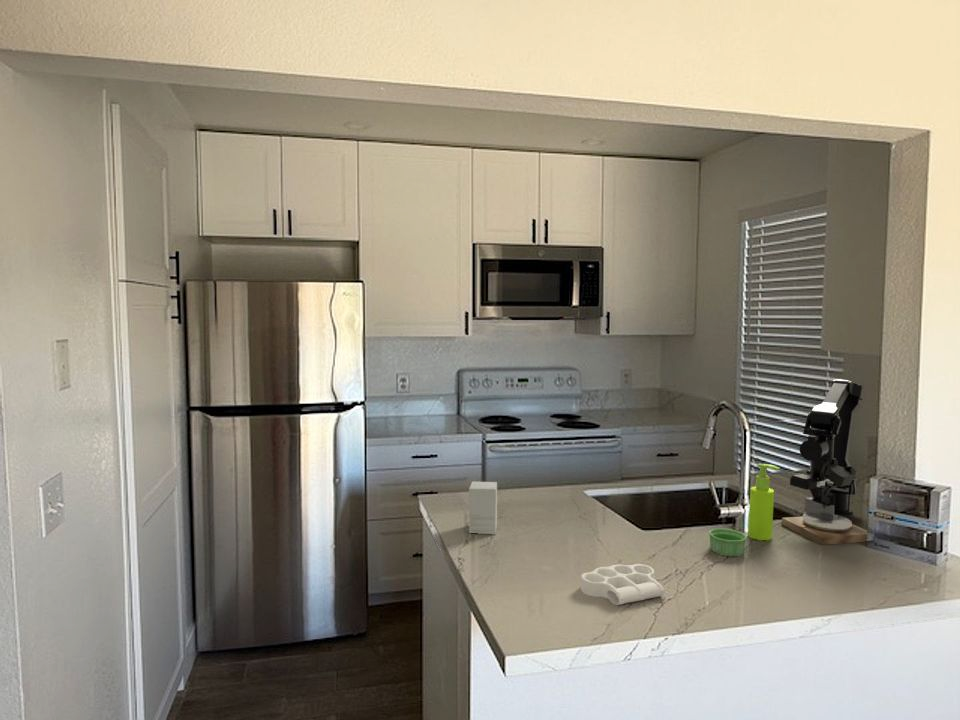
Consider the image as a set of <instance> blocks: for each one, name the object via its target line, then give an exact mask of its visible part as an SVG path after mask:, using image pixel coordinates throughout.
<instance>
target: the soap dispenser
mask: <svg viewBox="0 0 960 720" xmlns="http://www.w3.org/2000/svg"><path fill="white" fill-rule="evenodd" d="M757 468H759V474H756V477H755V486H751V487H750V489H749V490H750V495H749V511H748V512H749V514H748V515H749V516H748V528H747V529H748V532H747V533H748V534H747V535H748V538H750V539H753V540H756V539H757V541H763V540H766V541H771V540H772V539H773V522H774V521H773V520H774V519H773V518H774V505H775V504H774V503H775V502H774V501H775V490H774V489H773V488H770V482H771V481H770V480H771V477H770V476H768V475H767V474H768V473H767V472H768V471H767V470H768V469H771V470H775V471H778V470H780V469H781V468H780V467H779V466H777V465H774V464H771V463H770V464H769V463H760V462H759V463H758V464H757Z"/></svg>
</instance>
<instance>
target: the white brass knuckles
mask: <svg viewBox="0 0 960 720" xmlns="http://www.w3.org/2000/svg"><path fill="white" fill-rule="evenodd" d="M580 591H581V592H582V593H583V594H584V595H586V596H590V597H595V598H597V597H598V598H600V597H601V598H605V599H608V600H609V601H610V603H612V604H613V605H616V606H620V605H623V604H629V603H634V602H639V601H643V600H649V599H650V600H651V599H655V598H660V597H664V596H665V593H666V592H665V588H664V586H663V585H662V584H661V583H660V582H659V581H658V580H656V579H655V569H654V568H653V567H651V566H649V565H646V564H643V563H635V564H613V565H610V566H600V567H597V568H595V569H594V570H592V571H588V572H584V573H582V574H581V575H580Z"/></svg>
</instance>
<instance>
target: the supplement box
mask: <svg viewBox="0 0 960 720" xmlns="http://www.w3.org/2000/svg"><path fill="white" fill-rule="evenodd" d="M468 498H469V499H468V515H469V516H468V518H469V519H468V520H469V521H468V529H469V530H468V532H469V534H470V533H478V534H477V535H479V534H480V535H496V533H497V527H498V482H497V481H473V480H471V484H470V485H469V487H468Z"/></svg>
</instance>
